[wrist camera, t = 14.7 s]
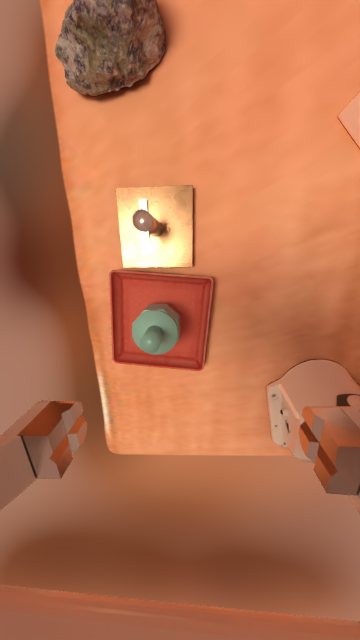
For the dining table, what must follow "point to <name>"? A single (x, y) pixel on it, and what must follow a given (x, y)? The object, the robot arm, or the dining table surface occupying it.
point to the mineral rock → (109, 43)
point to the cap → (156, 329)
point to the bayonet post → (156, 225)
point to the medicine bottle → (352, 118)
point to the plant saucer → (155, 288)
